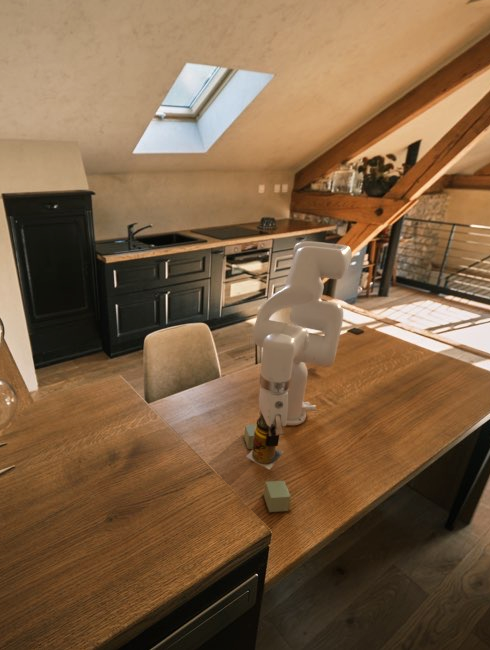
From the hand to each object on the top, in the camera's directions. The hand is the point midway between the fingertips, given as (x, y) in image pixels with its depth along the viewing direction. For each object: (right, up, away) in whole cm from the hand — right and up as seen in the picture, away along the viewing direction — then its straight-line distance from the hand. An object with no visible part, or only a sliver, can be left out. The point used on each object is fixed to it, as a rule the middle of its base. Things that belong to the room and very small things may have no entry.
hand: (267, 436), depth 104 cm
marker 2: (+1, -16, -5) cm, 17 cm away
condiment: (0, -7, +3) cm, 7 cm away
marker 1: (-1, -7, +15) cm, 17 cm away
